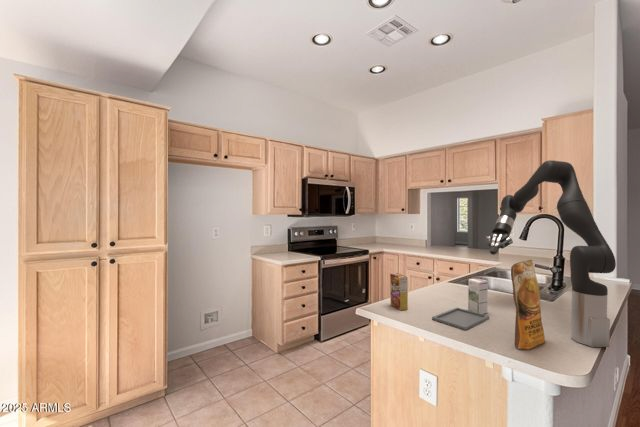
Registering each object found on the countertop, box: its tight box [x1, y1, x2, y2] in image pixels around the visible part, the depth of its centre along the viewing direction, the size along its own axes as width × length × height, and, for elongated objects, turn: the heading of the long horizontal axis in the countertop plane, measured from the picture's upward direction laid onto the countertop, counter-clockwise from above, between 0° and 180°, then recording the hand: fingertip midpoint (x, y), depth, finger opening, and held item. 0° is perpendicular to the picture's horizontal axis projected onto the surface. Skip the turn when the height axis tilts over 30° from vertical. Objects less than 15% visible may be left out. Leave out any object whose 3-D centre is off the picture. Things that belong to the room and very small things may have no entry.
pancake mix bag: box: [510, 259, 546, 351], centre depth 103 cm, size 7×19×28 cm, turn 121°
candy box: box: [389, 272, 409, 311], centre depth 141 cm, size 9×4×15 cm, turn 17°
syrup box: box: [467, 277, 489, 315], centre depth 135 cm, size 6×6×14 cm
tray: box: [431, 307, 490, 331], centre depth 126 cm, size 20×14×1 cm
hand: (492, 253), depth 143 cm, fingers closed
